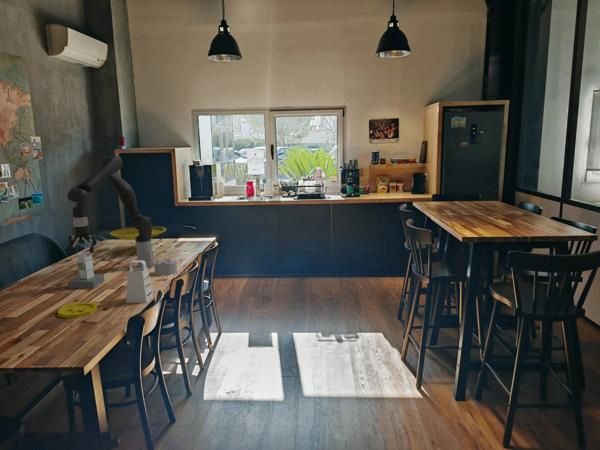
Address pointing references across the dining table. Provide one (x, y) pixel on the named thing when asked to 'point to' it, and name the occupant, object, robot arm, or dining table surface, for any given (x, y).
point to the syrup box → (85, 265)
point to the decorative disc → (77, 310)
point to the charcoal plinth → (86, 282)
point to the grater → (138, 284)
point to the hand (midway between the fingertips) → (84, 253)
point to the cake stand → (135, 234)
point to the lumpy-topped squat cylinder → (165, 267)
